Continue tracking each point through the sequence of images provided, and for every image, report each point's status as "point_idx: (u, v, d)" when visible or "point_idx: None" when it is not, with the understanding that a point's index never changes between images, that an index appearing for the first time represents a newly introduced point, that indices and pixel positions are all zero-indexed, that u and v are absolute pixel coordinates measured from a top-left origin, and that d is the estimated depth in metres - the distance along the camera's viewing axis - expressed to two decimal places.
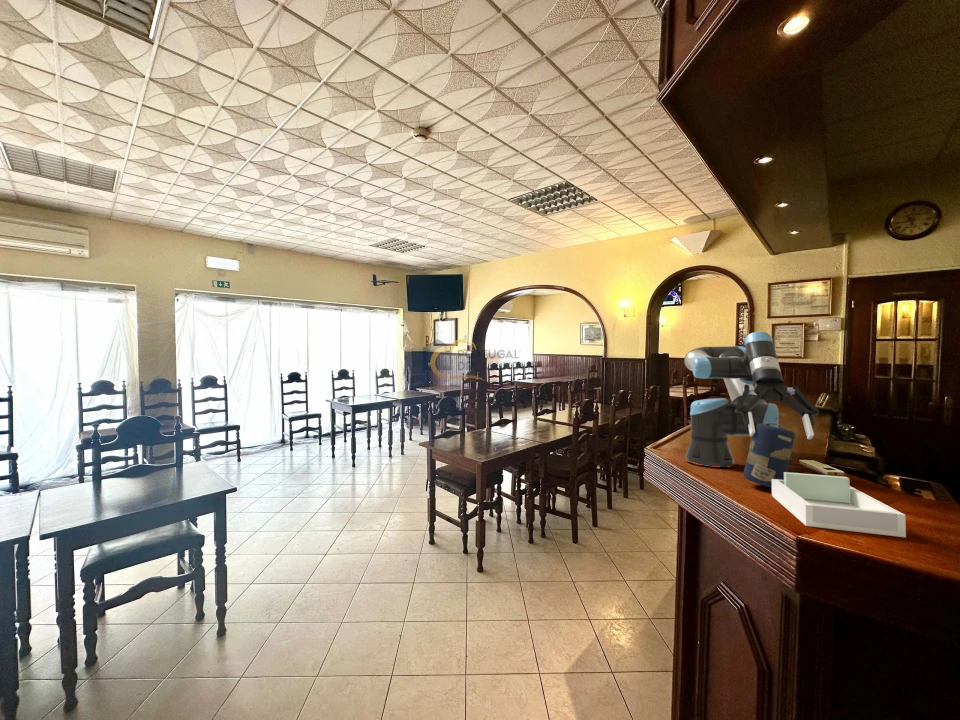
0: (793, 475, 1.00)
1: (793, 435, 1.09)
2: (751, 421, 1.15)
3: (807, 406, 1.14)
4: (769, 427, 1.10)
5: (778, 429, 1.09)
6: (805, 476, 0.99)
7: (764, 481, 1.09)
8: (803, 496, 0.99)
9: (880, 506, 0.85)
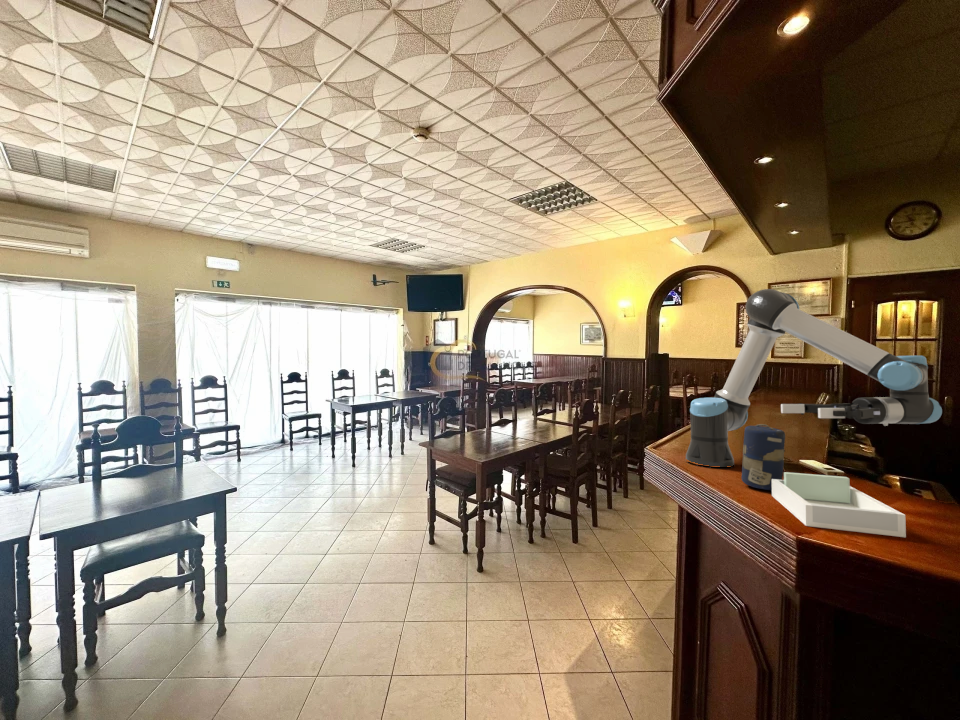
0: (793, 475, 1.00)
1: (782, 435, 1.09)
2: None
3: None
4: (757, 430, 1.10)
5: (766, 431, 1.09)
6: (805, 476, 0.99)
7: (762, 485, 1.09)
8: (803, 496, 0.99)
9: (880, 506, 0.85)
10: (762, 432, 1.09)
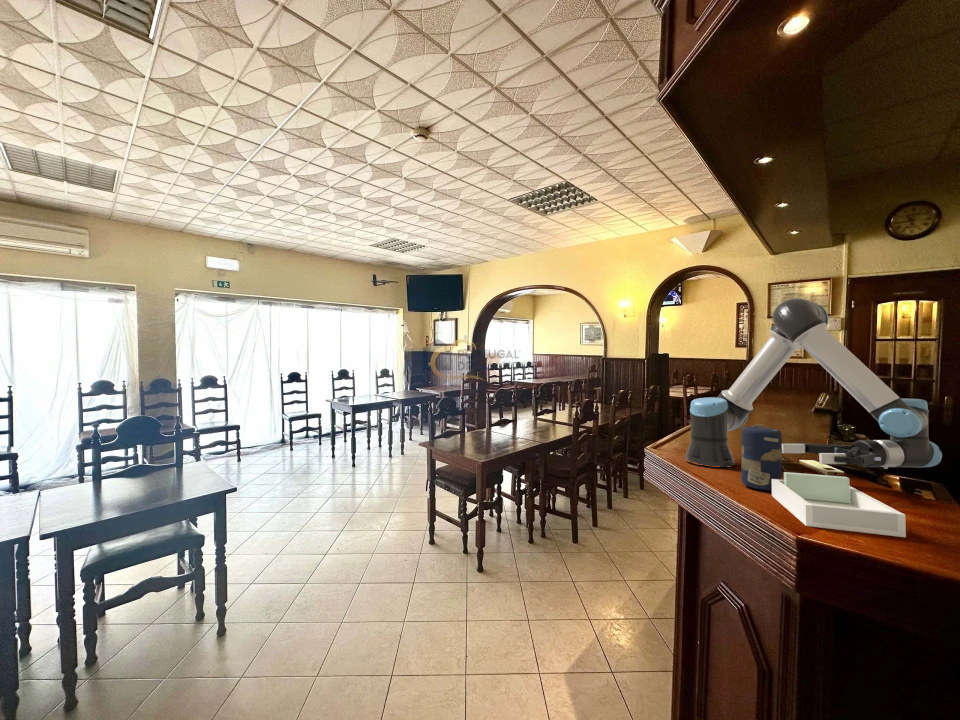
0: (793, 475, 1.00)
1: (779, 434, 1.09)
2: (833, 463, 1.06)
3: None
4: (754, 431, 1.11)
5: (763, 431, 1.09)
6: (805, 476, 0.99)
7: (761, 485, 1.09)
8: (803, 496, 0.99)
9: (880, 506, 0.85)
10: (758, 432, 1.10)
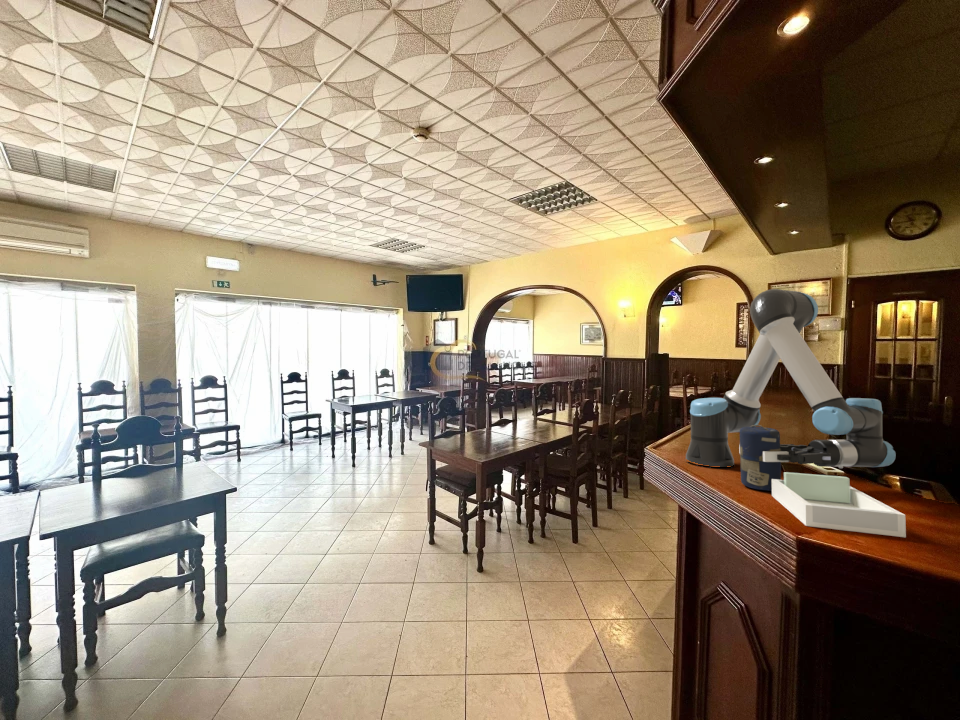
0: (793, 475, 1.00)
1: (777, 434, 1.09)
2: (776, 461, 1.08)
3: None
4: (751, 431, 1.11)
5: (760, 432, 1.09)
6: (805, 476, 0.99)
7: (761, 486, 1.09)
8: (803, 496, 0.99)
9: (880, 506, 0.85)
10: (756, 433, 1.10)
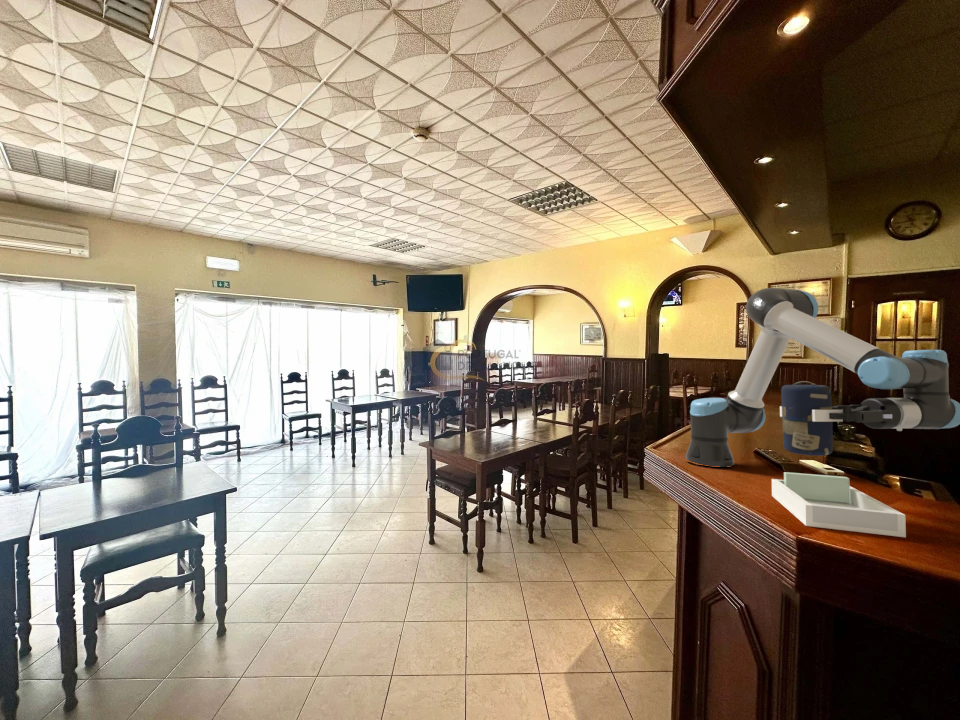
0: (793, 475, 1.00)
1: (828, 390, 0.93)
2: None
3: None
4: (797, 387, 0.95)
5: (808, 387, 0.94)
6: (805, 476, 0.99)
7: (810, 450, 0.93)
8: (803, 496, 0.99)
9: (880, 506, 0.85)
10: (803, 389, 0.94)
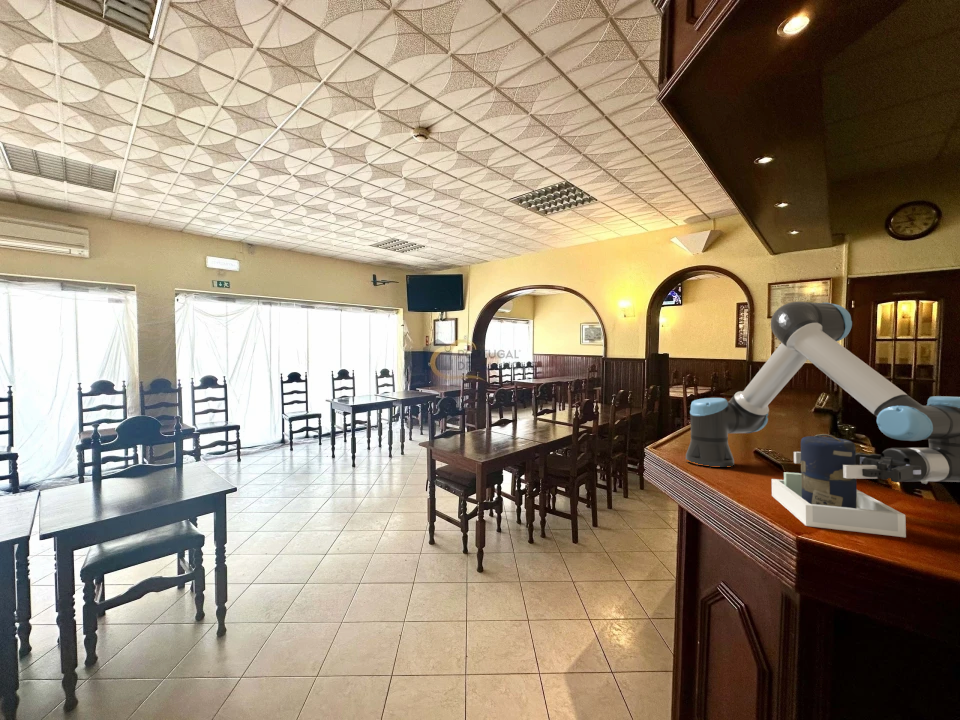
0: (793, 475, 1.00)
1: (853, 447, 0.86)
2: None
3: None
4: (819, 443, 0.88)
5: (831, 444, 0.87)
6: None
7: None
8: None
9: (880, 506, 0.85)
10: (825, 444, 0.87)
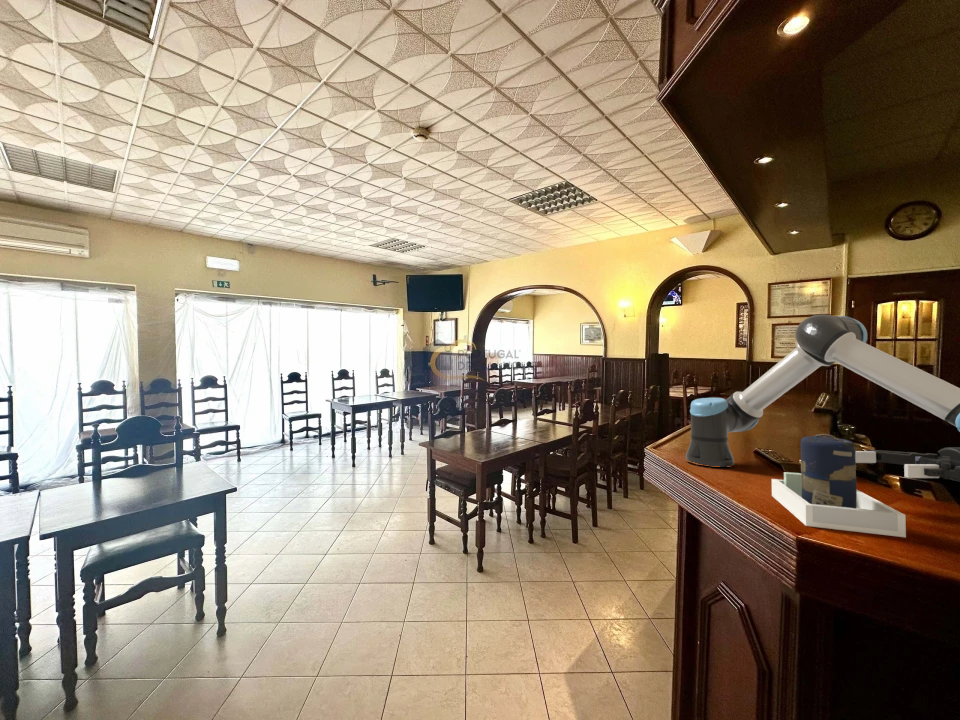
0: (793, 475, 1.00)
1: (852, 447, 0.86)
2: (922, 477, 0.84)
3: None
4: (819, 443, 0.88)
5: (831, 443, 0.87)
6: None
7: None
8: None
9: (880, 506, 0.85)
10: (825, 444, 0.87)
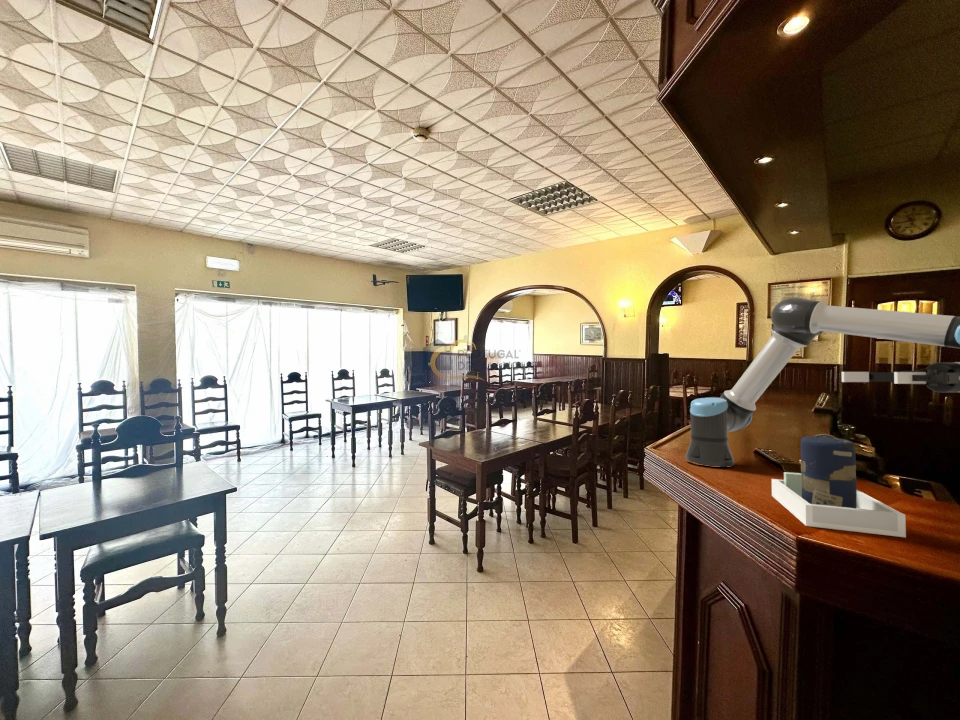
0: (793, 475, 1.00)
1: (852, 447, 0.86)
2: (910, 383, 0.92)
3: None
4: (819, 442, 0.88)
5: (831, 443, 0.87)
6: None
7: None
8: None
9: (880, 506, 0.85)
10: (825, 444, 0.87)
